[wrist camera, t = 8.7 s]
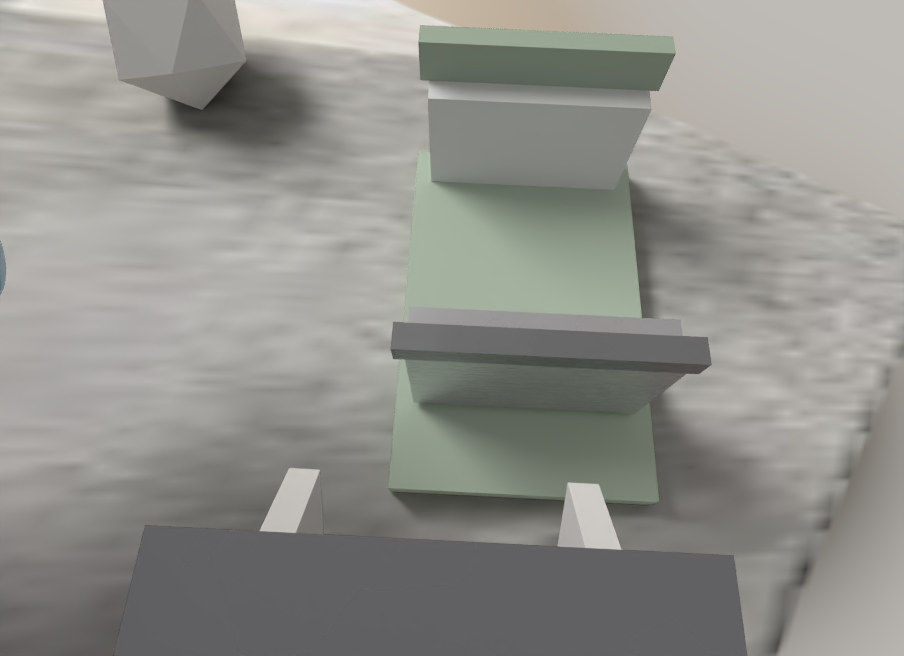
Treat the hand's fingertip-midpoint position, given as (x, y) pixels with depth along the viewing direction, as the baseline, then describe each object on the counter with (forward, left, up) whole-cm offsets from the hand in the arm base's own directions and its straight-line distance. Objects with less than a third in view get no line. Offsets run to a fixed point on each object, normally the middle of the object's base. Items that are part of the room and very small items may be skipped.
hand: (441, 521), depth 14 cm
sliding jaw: (+4, +8, -15) cm, 17 cm away
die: (-20, +31, -17) cm, 41 cm away
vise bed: (+4, +13, -16) cm, 22 cm away
